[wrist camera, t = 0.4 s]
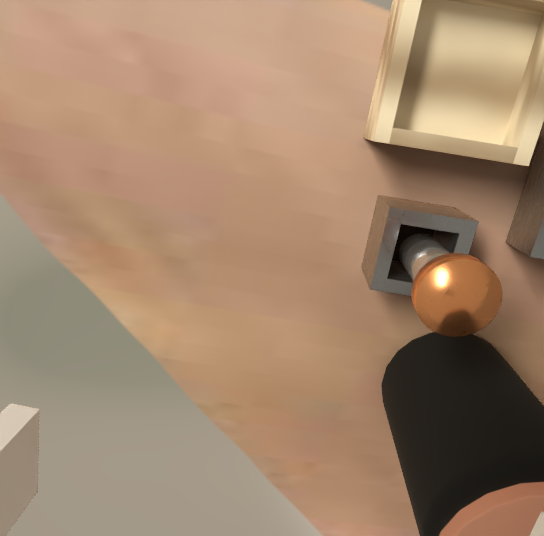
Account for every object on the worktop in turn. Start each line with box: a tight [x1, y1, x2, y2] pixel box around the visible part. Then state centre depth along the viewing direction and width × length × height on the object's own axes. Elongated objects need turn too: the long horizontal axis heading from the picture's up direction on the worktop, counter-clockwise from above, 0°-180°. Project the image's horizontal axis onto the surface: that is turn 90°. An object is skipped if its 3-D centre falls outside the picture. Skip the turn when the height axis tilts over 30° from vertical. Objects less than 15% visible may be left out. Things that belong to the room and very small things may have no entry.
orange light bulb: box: [399, 233, 502, 337], centre depth 28 cm, size 4×4×9 cm
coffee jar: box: [382, 332, 544, 536], centre depth 31 cm, size 11×11×18 cm
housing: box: [362, 195, 478, 296], centre depth 33 cm, size 6×6×5 cm
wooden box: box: [364, 0, 544, 166], centre depth 29 cm, size 10×10×5 cm
